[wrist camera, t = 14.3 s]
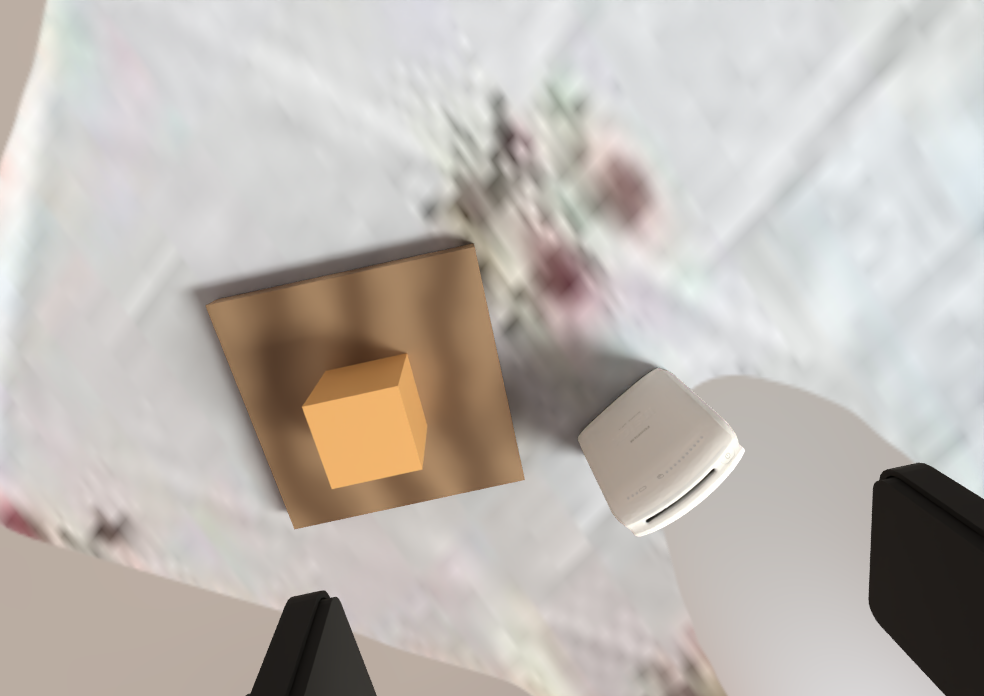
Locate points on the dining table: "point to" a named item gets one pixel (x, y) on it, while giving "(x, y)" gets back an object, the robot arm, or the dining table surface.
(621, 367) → the dining table surface
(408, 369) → the solid orange cube
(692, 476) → the photo printer
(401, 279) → the board
